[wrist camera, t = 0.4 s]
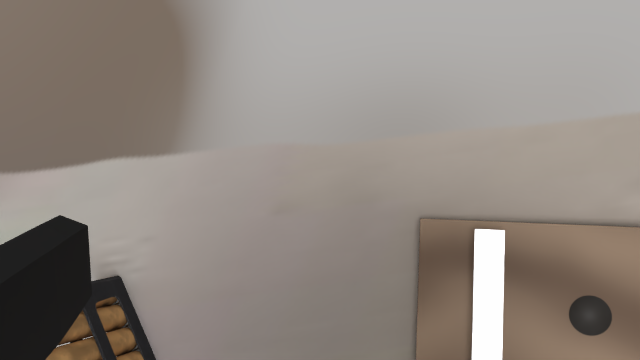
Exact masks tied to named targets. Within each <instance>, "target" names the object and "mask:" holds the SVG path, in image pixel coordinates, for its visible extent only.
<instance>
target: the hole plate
mask: <svg viewBox="0 0 640 360" xmlns="http://www.w3.org/2000/svg"><path fill="white" fill-rule="evenodd" d="M475 229H482V230H504V231H505V240H504V290H503V339H502V360H640V227H617V226H592V225H567V224H543V223H518V222H493V221H469V220H444V219H420V247H419V279H418V311H417V343H416V360H472V329H473V287H474V246H475Z"/></svg>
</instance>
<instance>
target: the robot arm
mask: <svg viewBox="0 0 640 360" xmlns="http://www.w3.org/2000/svg"><path fill="white" fill-rule="evenodd" d="M91 296H92V287H91V271H90V255H89V239H88V226H87V225H85V224H82V223H79V222H77V221H74V220H71V219H69V218H66V217H63V216H61V215H59V216H57V217H55V218H53V219H51V220H49V221H47V222H45V223H43V224H41V225H39V226H37V227H35V228H33V229H31V230H29V231H27V232H25V233H23V234H21V235H19V236H17V237H15V238H13V239H11V240H9V241H7V242H5V243H4V244H2V245H0V360H46V358H47V357H48V356H49V355H50V354H51V353H52V351H53V350H54V349H55V348H56V346H57V345H58V344H59V343H60V342H61V341H62V339H63V338H64V336H65V335H66V333H67V332H68V331H69V329H70V328H71V326H72V325H73V323H74V322H75V320H76V319H77V317H78V316H79V314H80V313H81V311H82V310H83V308H84V307H85V305H86V303H87V302H88V300H89V299H90V297H91Z"/></svg>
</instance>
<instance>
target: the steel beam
mask: <svg viewBox="0 0 640 360" xmlns="http://www.w3.org/2000/svg"><path fill="white" fill-rule="evenodd" d="M504 240H505V231H504V230H482V229H475V246H474V287H473V329H472V360H502V339H503V290H504Z"/></svg>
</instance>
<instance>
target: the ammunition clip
mask: <svg viewBox="0 0 640 360" xmlns="http://www.w3.org/2000/svg"><path fill="white" fill-rule="evenodd" d="M91 287H92V296H91V297H90V299H89V300H88V302H87V303H86V305H85V307H84V308H83V310H82V311H81V313H80V314H79V316H78V317H77V319H76V320H75V322H74V323H73V325H72V326H71V328H70V329H69V331H68V332H67V333H66V335H65V336H64V338H63V339H62V341H61V342H60V343H59V344H58V345H61V344H64V343H68V342H70V344H66V345H63V346H60V347H57V348H55V349H54V350H53V351H52V353H51V354H50V355H49V356H48V357H47V358H46V360H156V358H155V356H154V354H153V351H152V349H151V347H150V344H149V342H148V340H147V337H146V335H145V333H144V330H143V328H142V326H141V323H140V321H139V319H138V316H137V314H136V312H135V309H134V307H133V305H132V302H131V300H130V298H129V295H128V293H127V291H126V288H125V286H124V283H123V281H122V279H121V277H119V276H115V277H110V278H105V279H101V280H96V281H91ZM106 332H107V333H106ZM90 336H93V337H91V338H87V337H90ZM83 338H87V339H84V340H83ZM116 356H117V357H116Z"/></svg>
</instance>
